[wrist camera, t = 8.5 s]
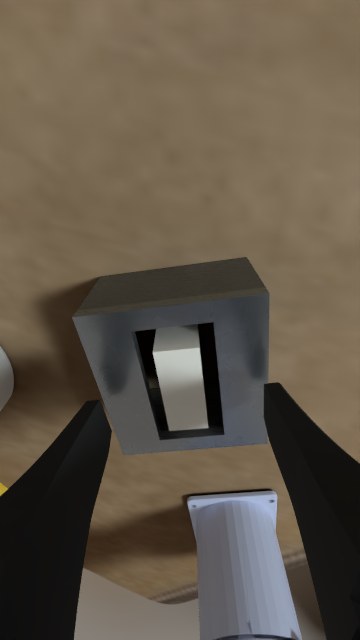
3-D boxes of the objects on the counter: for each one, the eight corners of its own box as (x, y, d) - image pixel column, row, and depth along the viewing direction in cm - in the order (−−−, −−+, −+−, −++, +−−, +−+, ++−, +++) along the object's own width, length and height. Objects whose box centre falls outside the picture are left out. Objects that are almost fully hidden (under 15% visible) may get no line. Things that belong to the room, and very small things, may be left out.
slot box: (250, 384, 20) (267, 443, 16) (135, 396, 20) (123, 455, 16) (246, 257, 15) (269, 293, 11) (100, 276, 16) (72, 317, 12)
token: (202, 365, 19) (208, 428, 15) (172, 368, 19) (169, 430, 15) (195, 297, 16) (199, 347, 12) (160, 300, 17) (152, 352, 12)
